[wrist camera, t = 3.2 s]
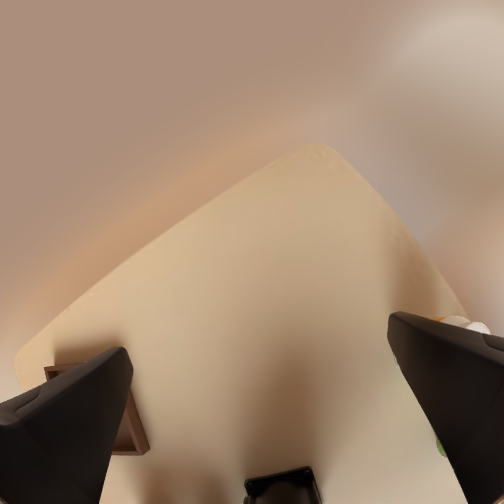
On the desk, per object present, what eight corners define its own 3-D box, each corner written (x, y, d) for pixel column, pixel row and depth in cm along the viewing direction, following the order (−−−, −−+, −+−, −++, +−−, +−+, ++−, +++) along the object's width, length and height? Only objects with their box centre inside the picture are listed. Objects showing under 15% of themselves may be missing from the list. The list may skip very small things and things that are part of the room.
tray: (122, 356, 24) (112, 357, 23) (150, 449, 22) (143, 455, 20) (54, 366, 24) (43, 367, 22) (78, 447, 21) (69, 452, 20)
